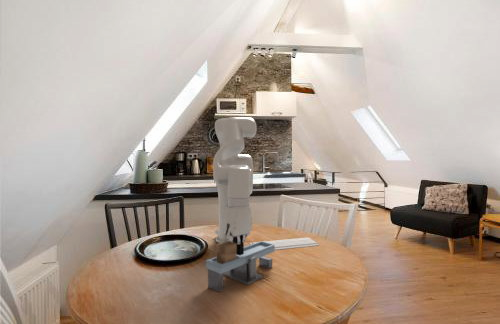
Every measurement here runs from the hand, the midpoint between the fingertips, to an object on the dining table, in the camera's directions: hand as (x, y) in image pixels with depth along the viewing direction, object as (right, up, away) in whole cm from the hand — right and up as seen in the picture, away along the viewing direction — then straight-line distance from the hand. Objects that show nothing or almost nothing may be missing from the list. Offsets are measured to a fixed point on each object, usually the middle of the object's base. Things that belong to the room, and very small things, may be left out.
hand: (238, 253), depth 109 cm
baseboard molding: (+20, -8, +37) cm, 43 cm away
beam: (+1, -2, +2) cm, 3 cm away
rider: (-4, -1, -5) cm, 6 cm away
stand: (+1, -9, +2) cm, 9 cm away
